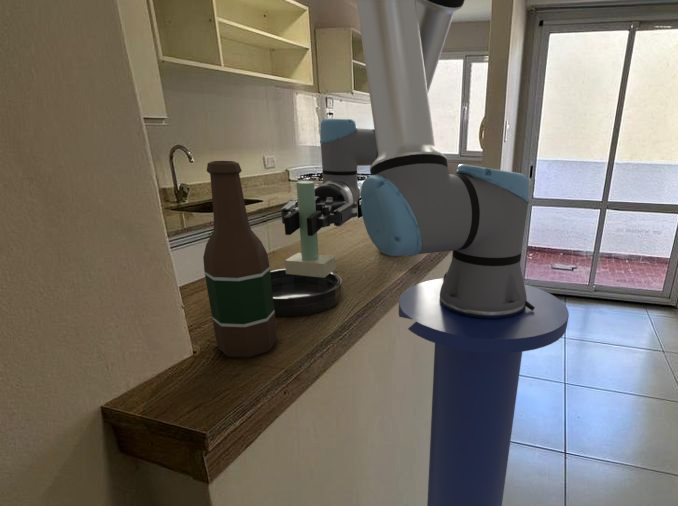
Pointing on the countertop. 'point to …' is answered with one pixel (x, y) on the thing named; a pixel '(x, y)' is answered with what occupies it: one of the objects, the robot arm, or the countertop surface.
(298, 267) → the green peg on base
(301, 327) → the countertop surface
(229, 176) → the beer bottle
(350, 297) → the countertop surface
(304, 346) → the countertop surface
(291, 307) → the black shallow round dish
